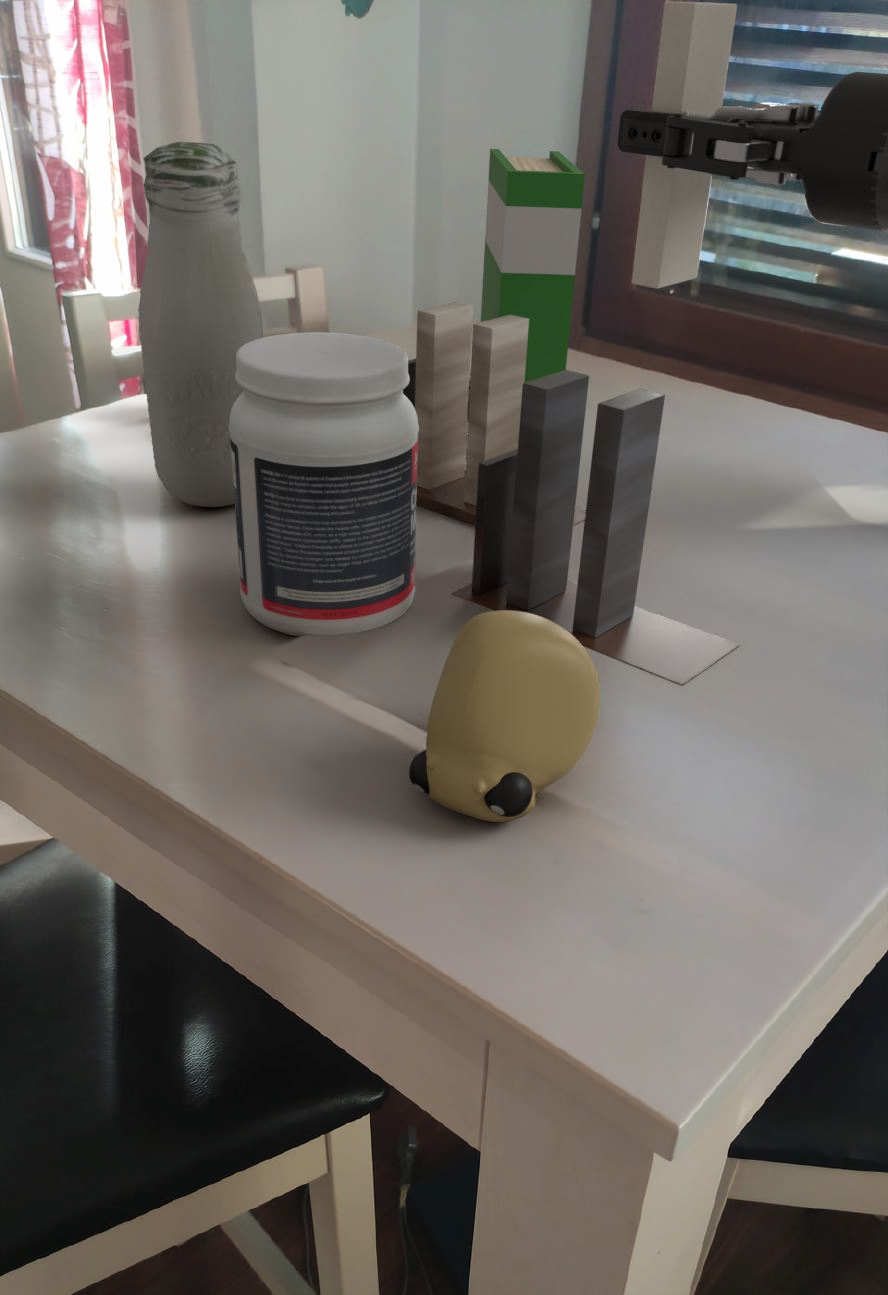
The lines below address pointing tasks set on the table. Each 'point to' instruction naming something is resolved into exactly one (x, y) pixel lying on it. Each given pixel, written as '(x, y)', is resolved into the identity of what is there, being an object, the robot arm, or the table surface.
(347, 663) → the table surface
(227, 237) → the glass bottle
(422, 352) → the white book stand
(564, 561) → the grey book stand
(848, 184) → the robot arm
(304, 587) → the supplement tub
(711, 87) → the beige rectangular block
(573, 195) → the hardback book
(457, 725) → the yellow toy with eyes
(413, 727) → the table surface
